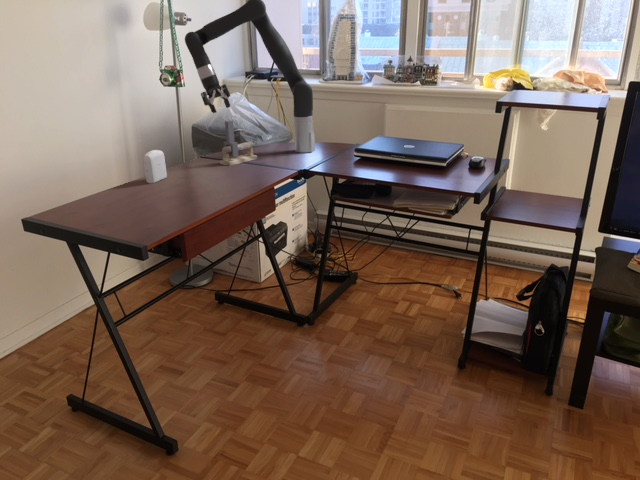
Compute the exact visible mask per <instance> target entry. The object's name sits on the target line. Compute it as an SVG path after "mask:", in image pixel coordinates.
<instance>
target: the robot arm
mask: <svg viewBox="0 0 640 480" xmlns="http://www.w3.org/2000/svg"><path fill="white" fill-rule="evenodd" d="M266 7H267V6H266V3H265V2H264V1H263V0H247V2H245V3H244V4H243V5H241V6H240V7H238V8H237V9H236V10H234V11H232V12H230V13H228V14H226V15H224V16H221V17H219V18H217V19H214V20H213V21H210V22H208V23H207V24H205V25H204V26H203V27H201V28H200V29H197V30H196V31H189V32H187V33H186V34H185V36H184V43H185V45H186V47H187V50H188V52H189V53H190V55H191V57H192V61H193V63H194V66H195V68H196V71H197V74H198V77H199V80H200V82H201V84H202V86H203V88H204V89H205V90H204V91H202V92H200V96H201V99H202V101H203V105H204V106H205V107H206V106H208V108H209V110H210V111H211V113H212V114H215V113H217V109H216V107H215V104H214V101H215V99H216V98H220V99H222V100H223V103H224V105H225V107H226V108H227V109H228V108H230V107H231V103H230V101H229V97H231V94H230V91H229V90H228V86H227V85H226V84H225V83H224V84H222V85H220V81H219V78H218V76H217V74H216V71H215V69H214V67H213V65H212V62H211V61H210V57H209V56H208V54H207V52H206V50H205V47H204V46H205V45H206V44H208V43H209V42H211V41H214V40H216V39H218V38H220V37H222V36H224V35H226V34H228V33H229V32H230V31H232V30H234V29H235V28H237V27H240V26H241V25H243V24H246V23H249V22H251V23H252V25H253V26H254V27H255V29H256V31H257V33H259V35H260V38H261V40H262V42H263V45H264V46H265V49H266V51H267V52H268V55H269V57H270V58H271V60H272V61H273V63H274V64H275V66H276V68H277V69H278V70H279V72H281V74H282V76H283V77H284V78H285V80H286V82H287V85H288V86H289V88H290V92H291V94H292V96H293V128H294V129H293V131H294V150H295V153H300V154H301V153H312V152H314V151H315V150H316V148H315V147H316V144H315V142H316V141H315V131H314V122H313V121H314V119H313V118H314V117H313V112H314V111H313V110H314V97H313V95H314V94H313V93H314V92H313V88H312V86H311V85H310V84H309V83H308V82H307V81H306V80H305V78H304V77H303V76H302V74H301V72H300V71H299V69H298V66H297V65H296V60H295V58H294V56H293V54H292V52H291V50H290V47H289V46H288V45H287V43H286V41H285V40H284V38H283V37H282V35H281V33H279V32H278V30H277V29H276V28H275V26H274V25H273V23H272V22H271V20H270V16H268V13H267V8H266Z"/></svg>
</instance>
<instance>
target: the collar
mask: <svg viewBox="0 0 640 480" xmlns="http://www.w3.org/2000/svg"><path fill="white" fill-rule="evenodd" d="M224 125H225V126H224V127H225V137H226V138H225V139H226V141H224V142H223V147H227V146H231V149H232V152H229V157H236V156H240V155H239V150H238V144H239V143H238V142H237V141H235V140H236V139H235V131H234V120H225V121H224Z"/></svg>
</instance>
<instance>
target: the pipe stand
mask: <svg viewBox="0 0 640 480" xmlns="http://www.w3.org/2000/svg"><path fill="white" fill-rule="evenodd" d="M253 146H254V143H253V141H247V142H242V143H238V151H242V150H245V149H246V150H247V151H246V152H247V153H245V154H242V155H241V154H240V155H239V156H234V157H233V156H231V157H230V156H229V152H232V149H231V146H227V147H224V146H223V147H222V148H221V151H222V159H221V160H219V164H221V165H223V166H224V165H225V166H234V165H238V164H242V163H246V162H249V161H254V160H257V159H258V155H256V154H254V147H253Z"/></svg>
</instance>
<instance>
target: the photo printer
mask: <svg viewBox="0 0 640 480" xmlns="http://www.w3.org/2000/svg"><path fill="white" fill-rule="evenodd" d="M142 159H143V166H144V174H145V181H146V183H147V184H155V183H157V182H159V181H162V180H164V179H166V178H167V177H168V173H167V166H166V161H165V159H166V158H165V154H164V152H163V151H162V150H159V149H153V150H149V151H148V152H146V153H145V154H144V156H143V158H142Z"/></svg>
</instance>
